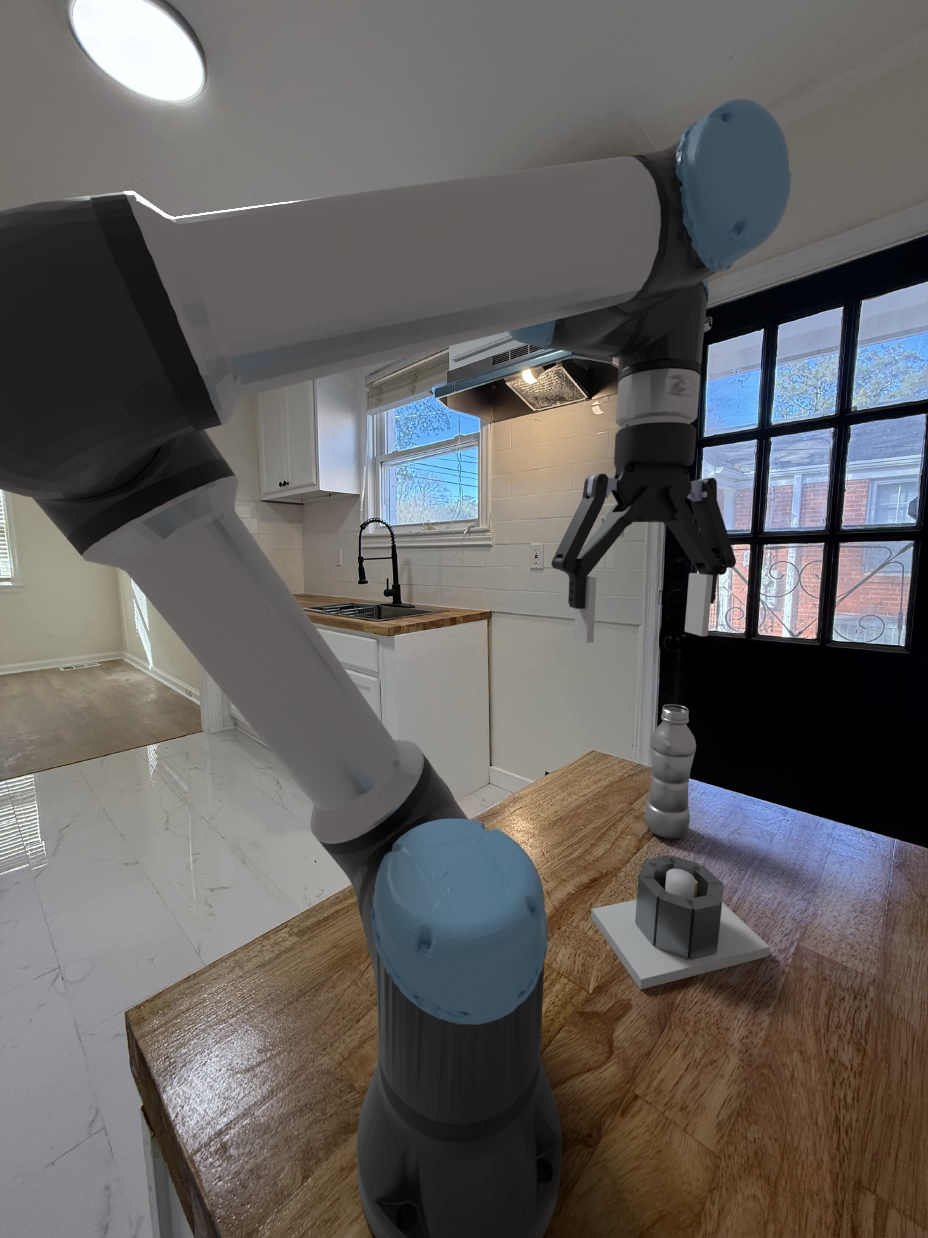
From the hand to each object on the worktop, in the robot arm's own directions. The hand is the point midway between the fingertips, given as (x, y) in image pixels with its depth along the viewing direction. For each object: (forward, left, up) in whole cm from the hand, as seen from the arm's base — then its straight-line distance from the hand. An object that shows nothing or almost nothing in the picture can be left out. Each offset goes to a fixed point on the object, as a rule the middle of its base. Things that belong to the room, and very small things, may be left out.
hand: (641, 637), depth 54 cm
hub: (+5, -3, -34) cm, 34 cm away
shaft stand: (+5, -3, -35) cm, 35 cm away
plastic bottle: (+17, +15, -35) cm, 42 cm away
